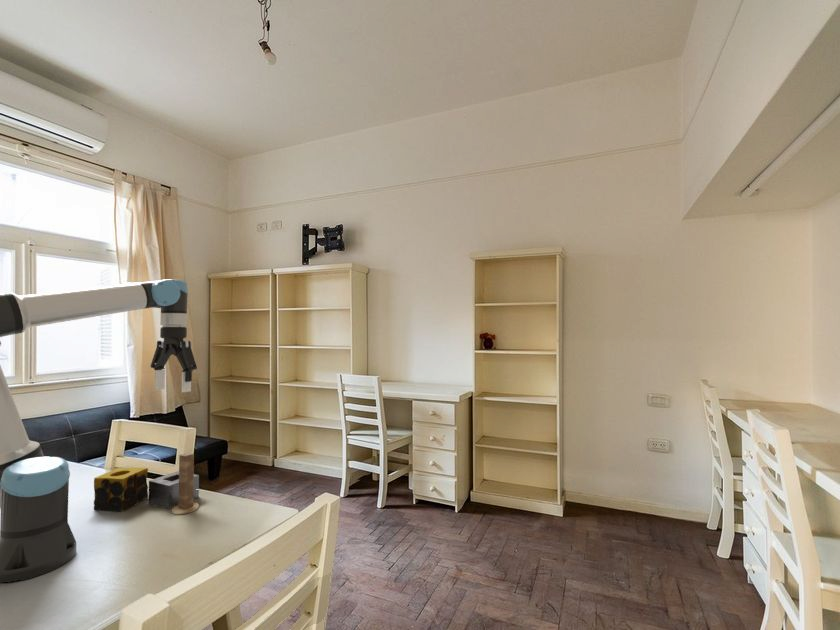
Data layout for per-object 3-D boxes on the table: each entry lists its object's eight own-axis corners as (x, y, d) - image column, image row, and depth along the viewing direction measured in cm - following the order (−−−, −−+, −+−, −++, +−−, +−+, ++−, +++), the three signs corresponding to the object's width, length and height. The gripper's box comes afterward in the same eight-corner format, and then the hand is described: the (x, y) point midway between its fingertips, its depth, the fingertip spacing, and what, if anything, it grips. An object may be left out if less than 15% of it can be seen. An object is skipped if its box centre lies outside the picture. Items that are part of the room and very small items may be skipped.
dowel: (184, 510, 122) (185, 456, 123) (178, 508, 124) (179, 455, 124) (193, 506, 125) (194, 453, 126) (187, 504, 126) (188, 452, 127)
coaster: (181, 516, 120) (181, 514, 120) (166, 511, 123) (166, 509, 123) (203, 506, 126) (203, 505, 126) (188, 502, 129) (188, 500, 129)
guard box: (168, 508, 125) (168, 485, 125) (148, 503, 129) (148, 480, 129) (198, 496, 134) (198, 475, 134) (178, 491, 138) (179, 470, 138)
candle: (148, 498, 133) (149, 467, 133) (123, 512, 123) (124, 478, 123) (120, 497, 134) (120, 466, 134) (92, 510, 124) (93, 477, 124)
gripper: (209, 326, 133) (208, 391, 133) (161, 326, 144) (160, 386, 143) (187, 326, 127) (186, 394, 126) (139, 326, 137) (138, 389, 137)
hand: (172, 390), depth 135 cm, fingers open, 13 cm apart
